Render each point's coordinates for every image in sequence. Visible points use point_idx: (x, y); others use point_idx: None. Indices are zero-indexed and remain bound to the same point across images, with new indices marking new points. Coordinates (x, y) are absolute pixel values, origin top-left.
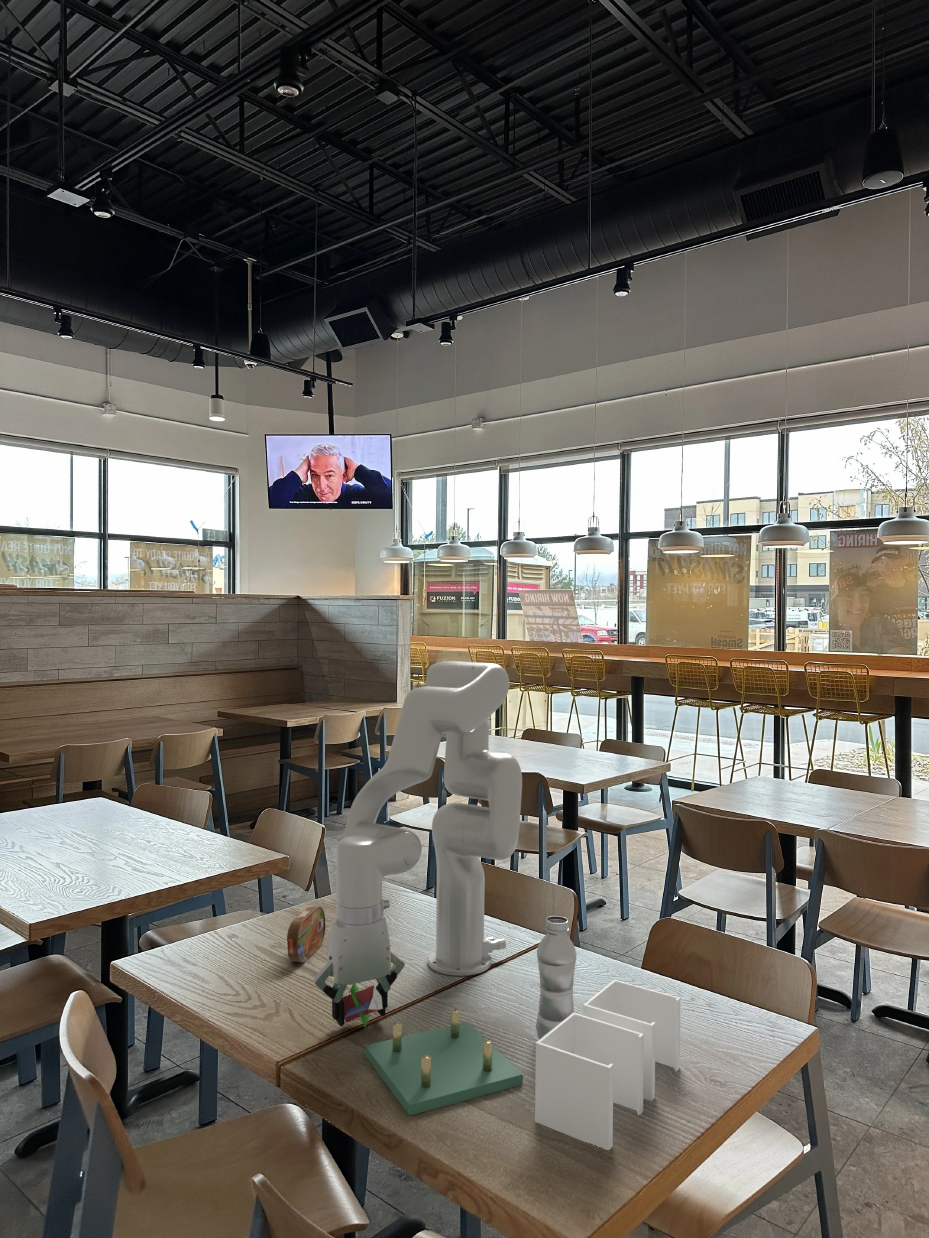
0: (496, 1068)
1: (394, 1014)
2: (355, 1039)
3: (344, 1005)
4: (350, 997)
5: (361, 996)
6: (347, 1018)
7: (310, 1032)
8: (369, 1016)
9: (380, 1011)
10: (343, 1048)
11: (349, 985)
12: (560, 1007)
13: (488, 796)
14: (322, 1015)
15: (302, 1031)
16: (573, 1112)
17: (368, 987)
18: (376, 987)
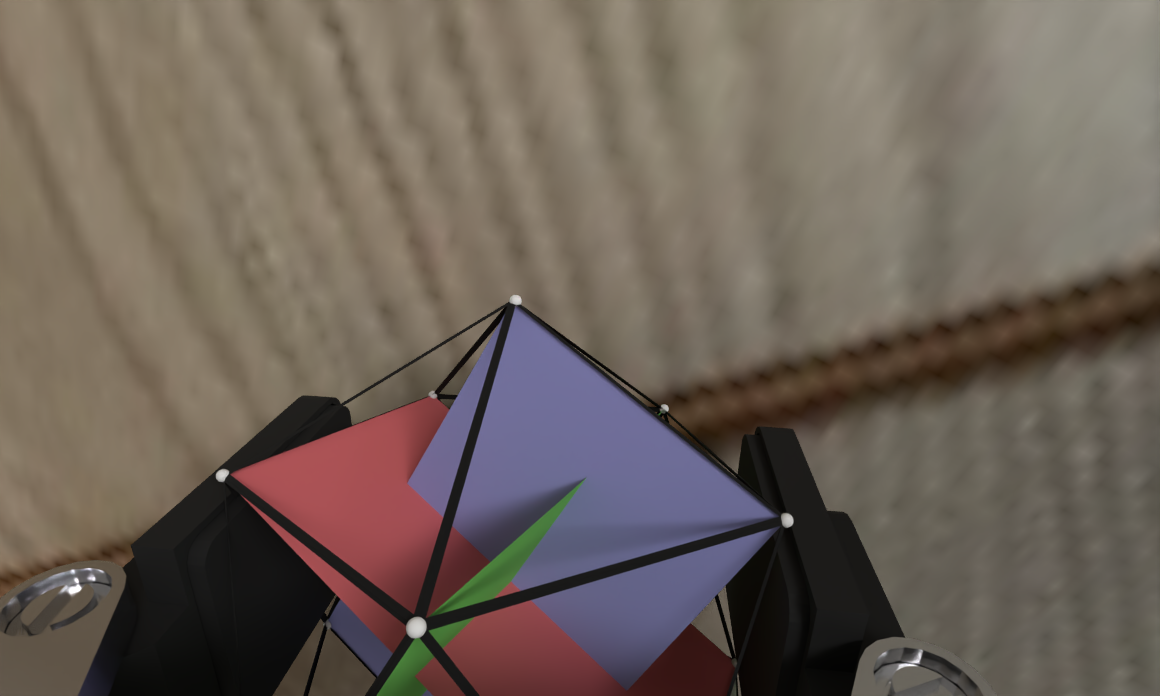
0: None
1: (929, 402)
2: None
3: (353, 481)
4: (382, 581)
5: (512, 665)
6: (436, 417)
7: (137, 354)
8: (668, 409)
9: (731, 580)
10: (343, 650)
11: (341, 570)
12: None
13: None
14: (273, 83)
15: (72, 307)
16: None
17: (702, 542)
18: (811, 610)
